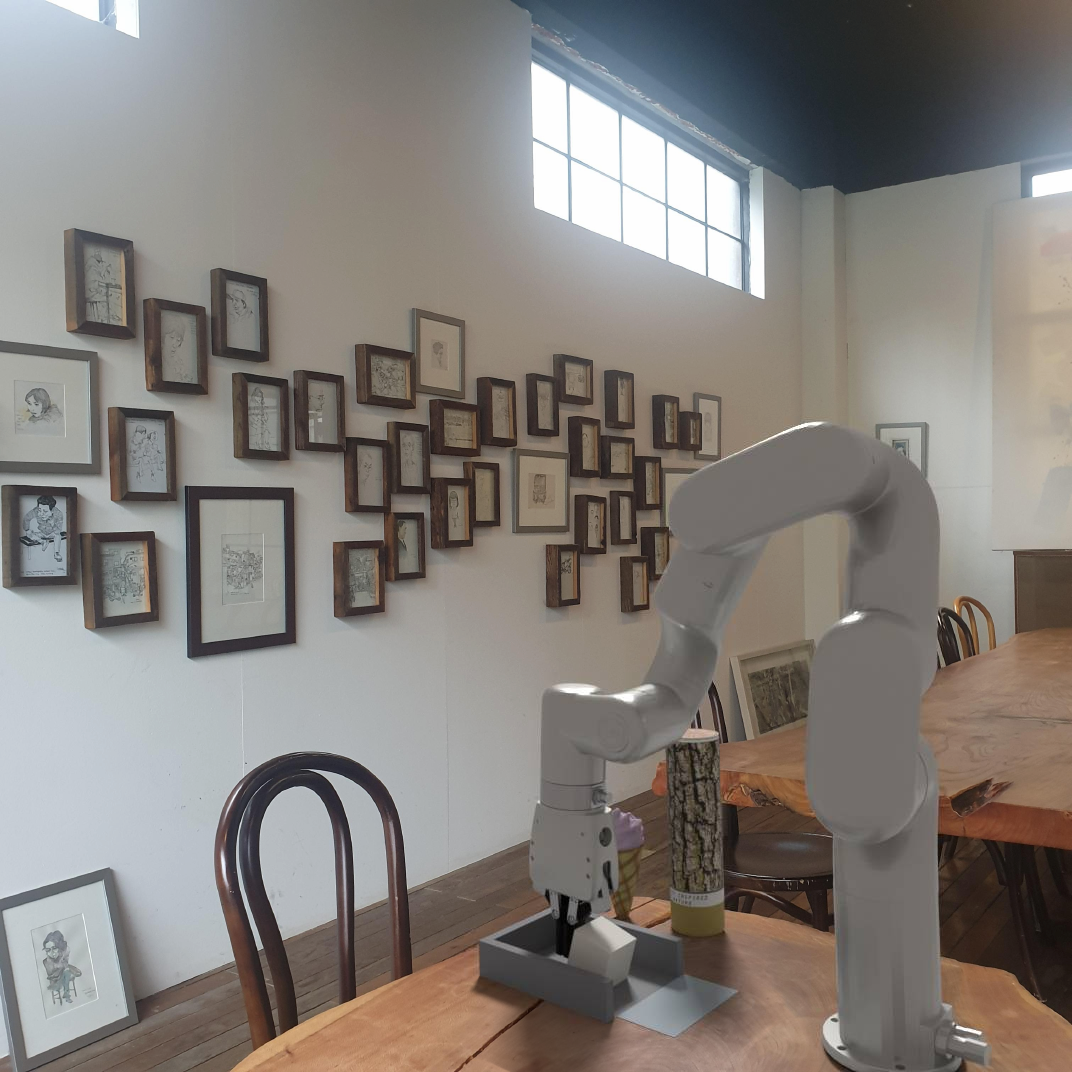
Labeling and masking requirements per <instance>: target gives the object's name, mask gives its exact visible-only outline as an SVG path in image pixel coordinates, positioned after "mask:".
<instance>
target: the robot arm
mask: <svg viewBox="0 0 1072 1072" xmlns="http://www.w3.org/2000/svg"><path fill="white" fill-rule="evenodd" d="M667 512H668V513H667V518H668V524H669V528H670V531H671V534H672V535H673V536H674V538H675V539H676V542H677V543H676V545H675V548H674V549H673V552H672V554H671V556H670V558H669V560H668V563H667V564H666V566H665V568H664V570H663V573H662V575H661V577H660V579H659V581H658V583H657V585H656V587H655V588H654V591H653V595H652V604H653V607H654V609H655V611H656V613H657V615H658V617H659V620H660V624H661V633H660V640H659V643H658V646H657V648H656V649H657V650H656V652H655V654H654V657H653V659H652V661H651V664H650V665H649V668H648V670H647V672H646V674H645V675H644V678H643V679H642V682H641V683H640V685H639V686H637V687H633V688H631V689H628V690H627V689H626V690H625V691H622V692H617V693H613V694H606V693H605V691H604V690H603V689H602V688H601V687H598V686H597V685H593V684H588V683H577V682H576V683H575V682H570V683H568V682H567V683H557V684H554V685H550V686H548V687H547V688H546V689H545V690H544V691H543V693H542V696H541V697H542V698H541V717H540V718H541V722H540V779H539V780H540V781H539V782H540V784H539V788H540V789H539V799H538V800H537V801H536V805H535V809H534V814H533V820H532V825H531V831H530V833H531V834H530V841H529V842H530V843H529V863H528V865H529V876H530V879H531V881H532V882H533V883H532V889H533V890H534V891H535V892H537V893H538V894H540V895H541V896H542V897H544V898H545V899H546V901H547V903H548V904H549V906H550V907H551V914H552V916H553V918H555V919H556V954H557V955H560V956H562V955H563V957H565V958H567V959H568V958H569V953H570V949H571V944H572V940H573V935H574V930H575V929H577V928H579V927H581V926H583V925H585V919H587V918H589V917H590V915H591V914H598V915H604V914H606V913H608V912H610V911H612V900H611V897H610V894H612V893H615V892H616V891H617V890H618V879H619V874H618V849H617V838H616V830H615V824H614V819H613V814H612V811H613V810H612V808H610V807H608V806H606V805H610V804H611V802H612V801H613V793H612V792H611V791H608V790H607V761H608V762H611V763H613V764H619V765H631V764H635V763H636V764H637V763H638V762H642V760H645V759H647V758H649V757H652V756H653V755H655V754H657V753H659V752H661V751H663V750H666V748H668V747H670V746H672V745H673V744H675V743H676V742H678V740H679V739H680V738H681V737H682V736H683V735H684V734H685V733H686V731H687V730H688V729H690V727H691V725H692V723H693V721H694V720H695V717H696V716H697V713H698V712H699V709H700V707H701V705H702V704H703V701H704V700H705V697H706V696H707V694H708V691H709V690H710V687H711V686H712V682H713V680H714V677H715V675H716V673H717V668H718V664H719V662H720V656H721V653H722V650H723V646H724V640H725V639H724V638H725V633H726V630H727V628H728V625H729V622H730V620H731V619H732V617H733V615H734V612H735V610H736V608H737V607H738V604H739V603H740V601H741V598H742V596H743V595H744V592H745V590H746V588H747V586H748V584H749V582H750V580H751V579H752V577H753V574H754V572H755V570H756V569H757V566H758V565H759V562H760V560H761V558H762V556H763V555H764V552H765V551H766V548H767V547H768V545H769V542H770V540H771V538H772V536H773V534H774V533H775V534H776V533H778V532H781V531H783V530H785V529H788V528H790V527H793V526H795V525H797V524H801V523H803V522H805V521H808V520H811V519H814V518H817V517H820V516H823V515H838V516H841V517H842V518H844V519H845V520H846V523H847V526H848V531H849V540H848V544H847V545H848V546H847V551H846V557H845V569H844V579H845V580H844V582H845V583H844V595H843V608H842V616H841V619H840V620H837V621H836V622H834V624H832V625H831V626H830V627H829V628H828V629H827V630H826V631H825V632H824V633H823V635H822V636H821V637H820V640H819V641H818V643H817V645H816V647H815V650H814V654H813V657H812V660H811V665H810V673H809V682H808V683H809V687H808V697H807V698H808V700H807V702H808V703H807V717H806V718H807V721H806V735H805V737H806V738H805V741H806V742H805V755H804V756H805V758H804V759H805V760H804V783H805V784H804V785H805V792H806V798H807V801H808V803H809V806H810V808H811V810H812V812H813V814H814V816H815V817H816V819H817V820H818V821H819V822H820V823H821V826H823V827H824V828H825V829H826V830H827V831H828V832H830V834H833V837H832V838H833V839H832V869H833V873H832V874H833V875H832V876H833V880H832V881H833V882H832V884H833V885H832V886H833V914H834V917H833V919H834V941H835V942H834V946H835V947H834V948H835V969H836V971H835V977H836V1004H837V1005H836V1006H837V1012H836V1013H834V1014H832V1015H830V1016H828V1018H827V1019H826V1020H825V1021H823V1022H824V1023H823V1024H822V1026H821V1041H822V1046H823V1047H824V1050H825V1051H826V1053H828V1054H829V1055H830V1056H831V1058H833V1060H834V1061H836V1062H838V1063H839V1064H841V1065H842V1066H843V1067H846V1068H847V1069H850V1070H851V1071H853V1072H956V1071H957V1070H959V1068H960V1066H961V1065H962V1060H963V1059H964V1060H965V1061H966V1062H970V1063H972V1064H975V1065H979V1066H982V1067H986V1068H987V1067H988V1066H989V1064H990V1059H991V1045H990V1044H989V1043H988V1042H985V1034H984V1032H983V1031H982V1030H977V1029H974V1028H970V1027H964V1026H961V1025H959V1023H958V1022H957V1021H956V1020H955V1021H954V1018H953V1015H954V1014H953V1012H954V1011H953V1005H951V1004H948V1003H945V1002H944V1003H943V1000H942V999H943V997H942V995H943V994H942V993H943V992H942V971H941V970H942V969H941V968H942V967H941V944H940V943H941V941H940V940H941V939H940V917H939V916H940V913H939V888H940V887H939V867H938V865H939V863H938V862H939V861H938V860H939V859H938V832H939V831H938V828H939V827H938V825H939V822H938V821H939V800H940V798H939V795H940V780H939V769H938V764H937V760H936V757H935V754H934V752H933V749H932V748H931V746H930V743H929V742H928V741H927V739H926V738H925V737H924V735H922V733H921V732H920V728H921V727H920V726H921V725H920V724H921V712H922V711H921V710H922V709H921V708H922V698H923V695H924V694H925V693H926V692H927V691H928V690H929V689H930V687H931V686H932V683H933V681H934V680H935V677H936V674H937V669H938V624H939V623H938V621H939V620H938V619H939V599H940V577H939V576H940V551H941V550H940V549H941V525H940V524H941V523H940V515H939V509H938V504H937V500H936V497H935V494H934V492H933V489H932V487H931V485H930V483H929V481H928V479H927V478H926V476H925V475H924V473H923V472H922V471H921V469H920V468H919V467H918V466H917V465H916V464H915V463H914V462H913V461H912V460H911V459H910V458H908V456H906V455H905V454H903V453H902V452H900V451H899V450H897V449H896V448H894V447H893V446H891V445H890V444H887V443H886V442H884V441H882V440H880V439H878V438H876V437H874V436H872V435H870V434H867V433H865V432H862V431H860V430H858V429H854V428H851V427H848V426H846V425H843V424H840V423H836V422H831V421H814V422H813V421H812V422H807V423H804V424H803V423H802V424H801V425H797V426H795V427H792V428H789V429H786V430H785V431H782V432H780V433H777V434H776V435H773V436H772V437H769V438H767V439H765V440H763V441H759V442H758V443H755V444H753V445H751V446H749V447H746V448H745V449H743V450H740V451H738V452H736V453H734V454H731V455H729V456H727V457H724V458H722V459H720V460H718V461H716V462H713V463H711V464H709V465H706V466H705V467H702V468H700V469H698V470H696V471H694V472H692V473H691V474H690V475H689V476H687V477H685V478H684V480H683V481H682V482H680V484H678V486H677V487H676V489H675V490H674V491H673V494H672V495H671V499H670V500H669V505H668V511H667Z"/></svg>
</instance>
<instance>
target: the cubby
mask: <svg viewBox="0 0 1072 1072" xmlns="http://www.w3.org/2000/svg"><path fill="white" fill-rule="evenodd" d="M600 916H603V917H604V918H606V919H607V920H609V921H610V922H612V923H614V924H615V925H617V926H618V927H620V928H621V929H623V930H624V931H626V932H627V933H629V934H630V935H632V936H633V937H635V938H637V939H636V943H635V947H634V952H633V956H632V960H631V964H630V969H629V973H628V977H627V979H625V980H623V981H622V982H620V983H619V984H617V985H615V986H614V987H613V979H610V978H607V977H604V976H601V975H598V974H595V973H592V972H589V971H586V970H583V969H580V968H577V967H574V966H571V965H568V964H567V962H568V959H567V958H565V957H563V955H562V956H560V955H557V954H556V919H555V918H553V916H552V914H551V906H550V907H548V908H547V909H544V910H541V911H540V912H537V913H535V914H533V915H531V916H528V917H526V918H524V919H523V920H520V921H518V922H516V923H514V924H510V925H508V926H507V927H504V928H503V929H501V930H498V931H496V932H494V933H492V934H490V935H488V936H485V937H483V938H480V939H478V963H479V964H478V966H479V968H478V969H479V977H481V978H484V979H487V980H489V981H493V982H494V983H497V984H500V985H503V986H506V987H508V988H511V989H513V990H516V991H520V992H521V993H525V994H527V995H530V996H531V997H535V998H538V999H541V1000H544V1001H546V1002H549V1003H551V1004H554V1005H556V1006H559V1007H562V1008H564V1009H567V1010H570V1011H573V1012H575V1013H578V1014H580V1015H583V1016H586V1017H589V1018H591V1019H593V1020H597V1021H599V1022H602V1023H604V1024H608V1023H610V1022H612V1021H613V1020H615V1019H616V1018H618V1019H621V1020H623V1021H626V1022H629V1023H632V1024H635V1025H638V1026H641V1027H643V1028H645V1029H649V1030H652V1031H653V1032H657V1033H659V1034H662V1035H664V1036H665V1035H666V1036H668V1037H670V1038H674V1039H675V1038H677V1037H678V1036H679V1035H681V1034H682V1033H683V1032H685V1031H687V1030H688V1029H689V1028H690V1027H692V1026H693V1025H695V1024H696V1023H697V1022H699V1021H700V1020H702V1019H703V1018H704V1017H705V1016H707V1015H709V1014H710V1013H711V1012H713V1011H714V1010H715V1009H717V1008H718V1007H720V1005H722V1004H723V1003H725V1002H726V1001H727V1000H729V999H731V998H732V997H733V996H735V995H736V994H738V993H739V992H740V991H739V990H738V989H737V990H736V989H734V988H731V987H728V986H724V985H721V984H718V983H714V982H711V981H708V980H705V979H701V978H698V977H695V976H692V975H689V974H686V973H684V972H685V971H684V970H685V969H684V968H685V967H684V943H683V940H684V939H683V938H682V937H680V936H675V935H671V934H670V933H666V932H661V931H658V930H654V929H651V928H648V927H644V926H641V925H637V924H633V923H630V922H626V921H622V920H619V919H615V918H611V917H609V916H605V915H603V914H591V915H590V917H589V918H587V919H585V924H587V923H589V922H591V921H593V920H595V919H596V918H598V917H600Z"/></svg>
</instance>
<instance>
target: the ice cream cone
mask: <svg viewBox="0 0 1072 1072" xmlns="http://www.w3.org/2000/svg"><path fill="white" fill-rule="evenodd" d="M612 814H613V819H614V824H615V830H616V838H617V849H618V874H619V879H618V890H617V891H616V892H615V893H612V894H609V895H610V901H611V904H612V907H613V909H614V913H615V916H616V918H617V920H619V919H620V920H626V919H629V918H630V914H631V910H632V906H633V901H634V899H635V898H634V897H635V893H636V888H637V883H638V880H639V873H640V868H641V863H642V858H643V849H644V841H645V838H644V827H643V820H642V819H641V818H637V817H635V815H633V814H632V812H630V811H629V812H627V813H626V812H622V811H621V810H620V808H619V807H616V808H615V809H613V810H612Z"/></svg>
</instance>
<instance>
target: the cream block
mask: <svg viewBox="0 0 1072 1072" xmlns="http://www.w3.org/2000/svg"><path fill="white" fill-rule="evenodd" d="M603 916H604V915H602V916H600V917H598V918H596V919H595V920H593V921H591V922H589V923H587V924H585V925H583V926H581V927H579V928H577V929H575V930H574V935H573V940H572V944H571V949H570V953H569V958H568V962H567V964H568V965H571V966H574V967H577V968H580V969H583V970H586V971H589V972H592V973H595V974H598V975H601V976H604V977H607V978H610V979H613V987H614V986H615V985H617V984H619V983H620V982H622V981H623V980H625V979H627V977H628V973H629V969H630V964H631V960H632V956H633V952H634V947H635V943H636V939H637V938H635V937H633V936H632V935H630V934H629V933H627V932H626V931H624V930H623V929H621V928H620V927H618V926H617V925H615V924H614V923H612V922H610V921H609V920H607V919H606V918H604V917H603Z"/></svg>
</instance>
